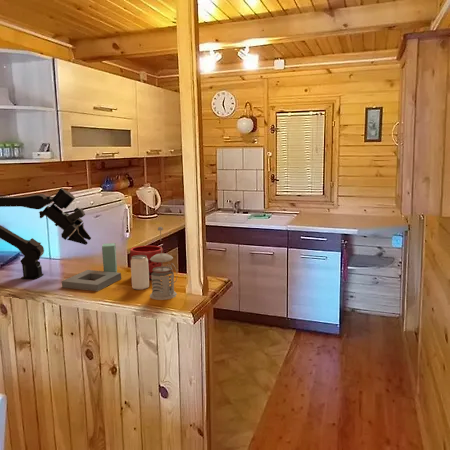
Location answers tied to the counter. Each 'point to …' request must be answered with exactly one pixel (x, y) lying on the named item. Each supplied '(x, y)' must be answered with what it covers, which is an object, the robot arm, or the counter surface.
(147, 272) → the can
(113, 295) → the counter surface
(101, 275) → the socket plate
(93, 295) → the counter surface
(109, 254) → the plug block
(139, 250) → the plant pot
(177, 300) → the counter surface
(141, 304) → the counter surface
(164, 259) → the french press
